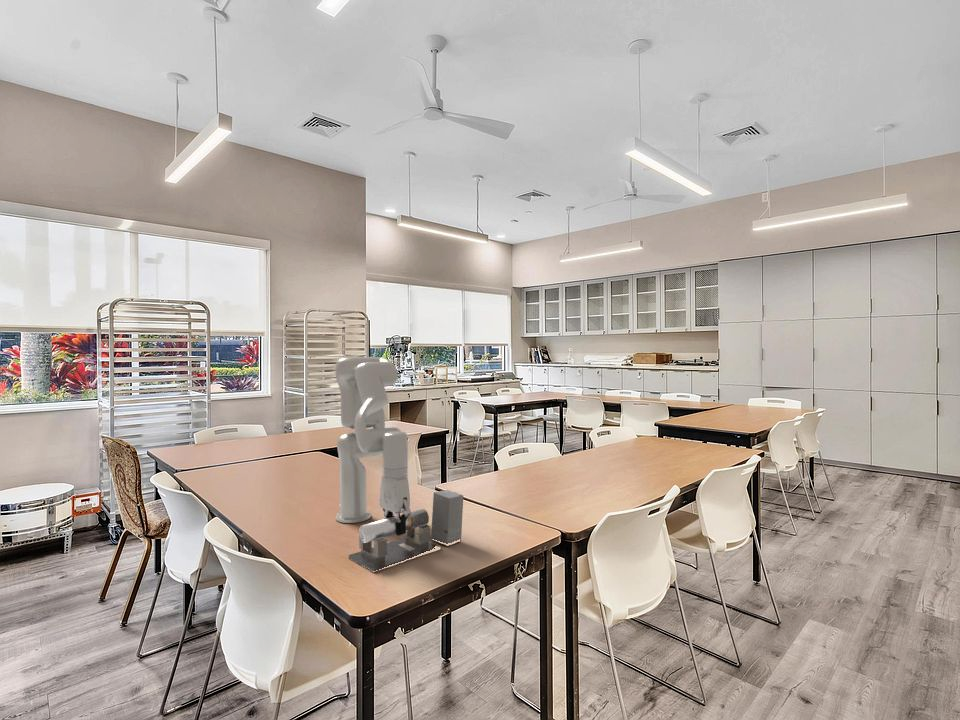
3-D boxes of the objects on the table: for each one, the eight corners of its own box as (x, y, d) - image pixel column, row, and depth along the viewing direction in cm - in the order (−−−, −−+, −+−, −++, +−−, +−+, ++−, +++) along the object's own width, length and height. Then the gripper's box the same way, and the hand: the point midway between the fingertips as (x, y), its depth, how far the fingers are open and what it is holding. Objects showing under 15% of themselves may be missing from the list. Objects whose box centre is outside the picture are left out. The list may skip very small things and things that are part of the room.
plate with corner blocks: (348, 558, 152) (348, 533, 152) (413, 537, 168) (413, 515, 168) (374, 573, 142) (373, 546, 142) (440, 549, 158) (440, 525, 158)
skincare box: (430, 540, 166) (430, 492, 166) (447, 535, 171) (447, 488, 171) (447, 548, 160) (447, 497, 160) (464, 542, 165) (464, 493, 165)
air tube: (368, 545, 146) (367, 527, 146) (359, 540, 149) (358, 523, 149) (429, 526, 161) (428, 510, 161) (419, 523, 164) (419, 507, 164)
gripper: (369, 469, 158) (369, 528, 159) (401, 479, 146) (401, 542, 146) (389, 466, 164) (390, 522, 164) (422, 475, 151) (422, 536, 152)
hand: (395, 531), depth 155 cm, fingers closed on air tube, 5 cm apart
